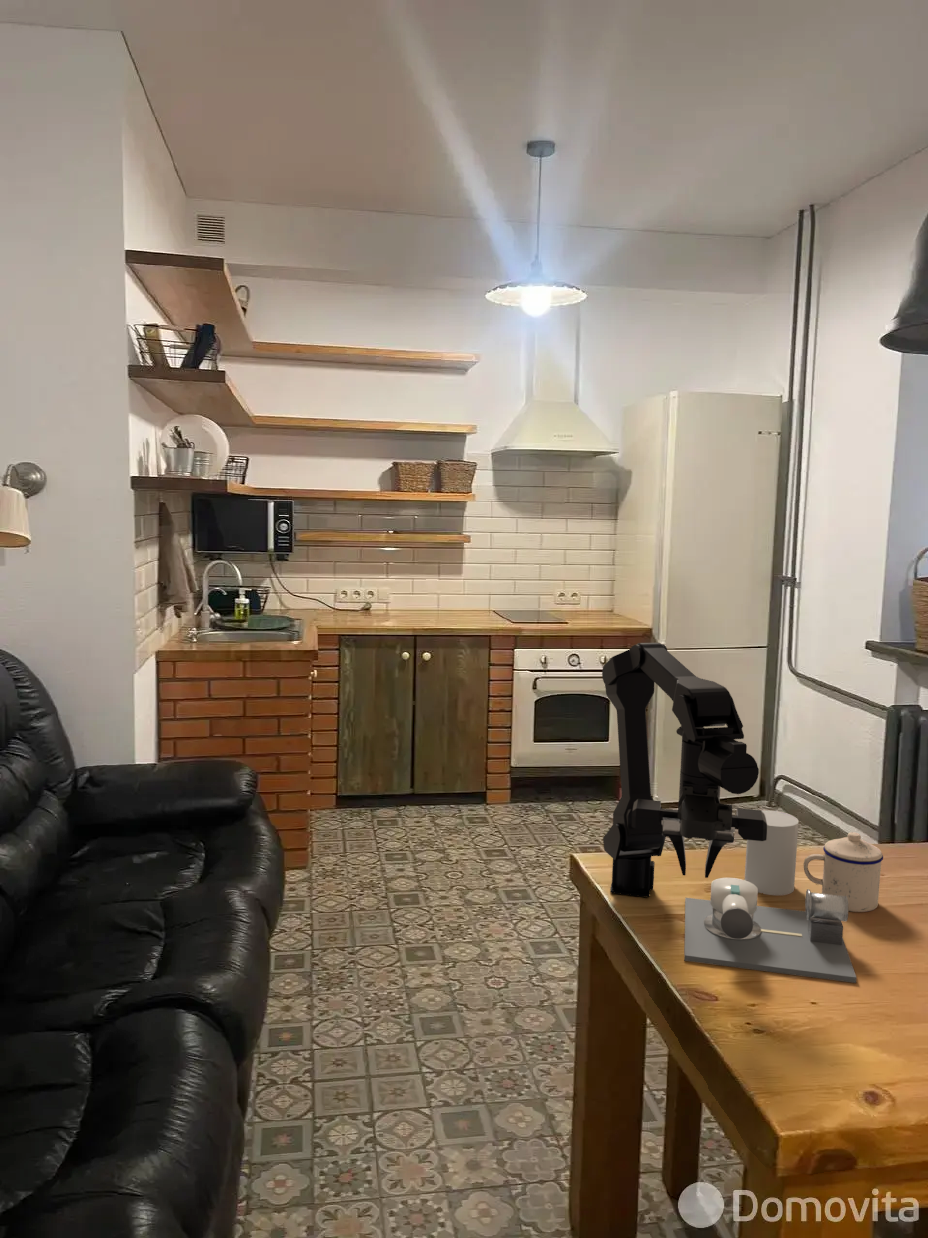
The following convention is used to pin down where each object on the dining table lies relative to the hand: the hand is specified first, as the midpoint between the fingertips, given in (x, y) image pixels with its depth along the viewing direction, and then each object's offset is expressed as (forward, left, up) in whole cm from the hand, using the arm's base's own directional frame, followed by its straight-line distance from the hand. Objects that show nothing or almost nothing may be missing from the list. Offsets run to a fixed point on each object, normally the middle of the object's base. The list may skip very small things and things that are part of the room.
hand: (695, 875), depth 135 cm
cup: (+13, +26, -11) cm, 32 cm away
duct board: (+11, +5, -11) cm, 16 cm away
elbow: (+6, +3, -7) cm, 10 cm away
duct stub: (+6, +6, -11) cm, 14 cm away
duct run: (+19, +6, -11) cm, 23 cm away
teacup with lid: (+24, +23, -11) cm, 35 cm away
